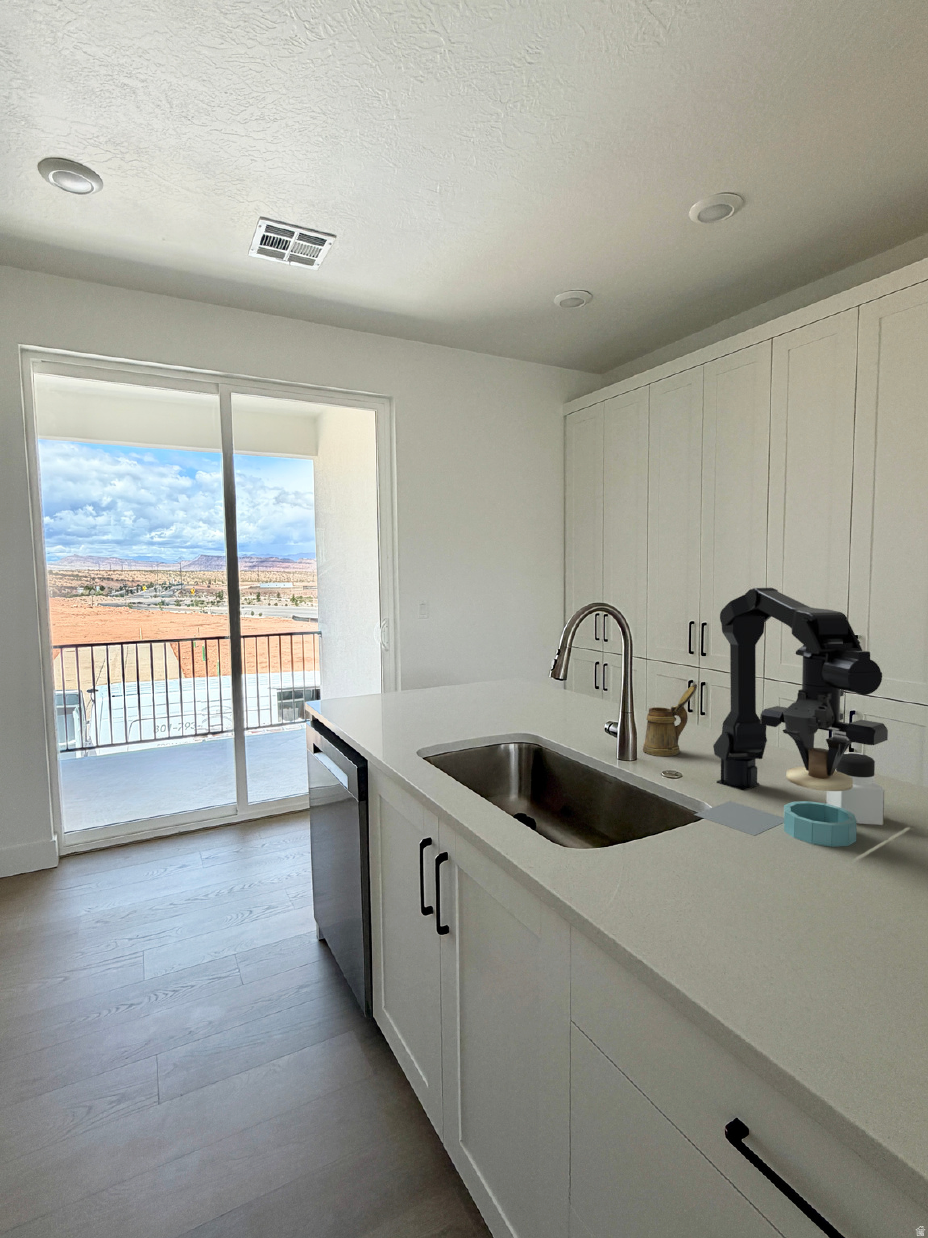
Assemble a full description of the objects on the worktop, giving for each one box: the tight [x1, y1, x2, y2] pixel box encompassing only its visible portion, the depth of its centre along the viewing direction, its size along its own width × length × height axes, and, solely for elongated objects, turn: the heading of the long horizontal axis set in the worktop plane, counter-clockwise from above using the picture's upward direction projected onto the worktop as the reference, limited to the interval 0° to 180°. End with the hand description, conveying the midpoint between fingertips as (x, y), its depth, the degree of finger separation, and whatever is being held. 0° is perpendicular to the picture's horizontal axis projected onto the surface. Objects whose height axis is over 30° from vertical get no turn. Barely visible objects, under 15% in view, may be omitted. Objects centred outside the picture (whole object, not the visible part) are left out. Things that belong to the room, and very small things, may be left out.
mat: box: [693, 800, 784, 837], centre depth 115 cm, size 12×12×1 cm
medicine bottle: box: [826, 752, 885, 826], centre depth 114 cm, size 7×7×12 cm
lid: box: [786, 747, 853, 792], centre depth 106 cm, size 10×10×6 cm
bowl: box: [783, 800, 858, 848], centre depth 107 cm, size 11×11×4 cm
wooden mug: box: [642, 684, 698, 757], centre depth 159 cm, size 9×14×18 cm, turn 80°
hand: (819, 772), depth 107 cm, fingers closed on lid, 3 cm apart
